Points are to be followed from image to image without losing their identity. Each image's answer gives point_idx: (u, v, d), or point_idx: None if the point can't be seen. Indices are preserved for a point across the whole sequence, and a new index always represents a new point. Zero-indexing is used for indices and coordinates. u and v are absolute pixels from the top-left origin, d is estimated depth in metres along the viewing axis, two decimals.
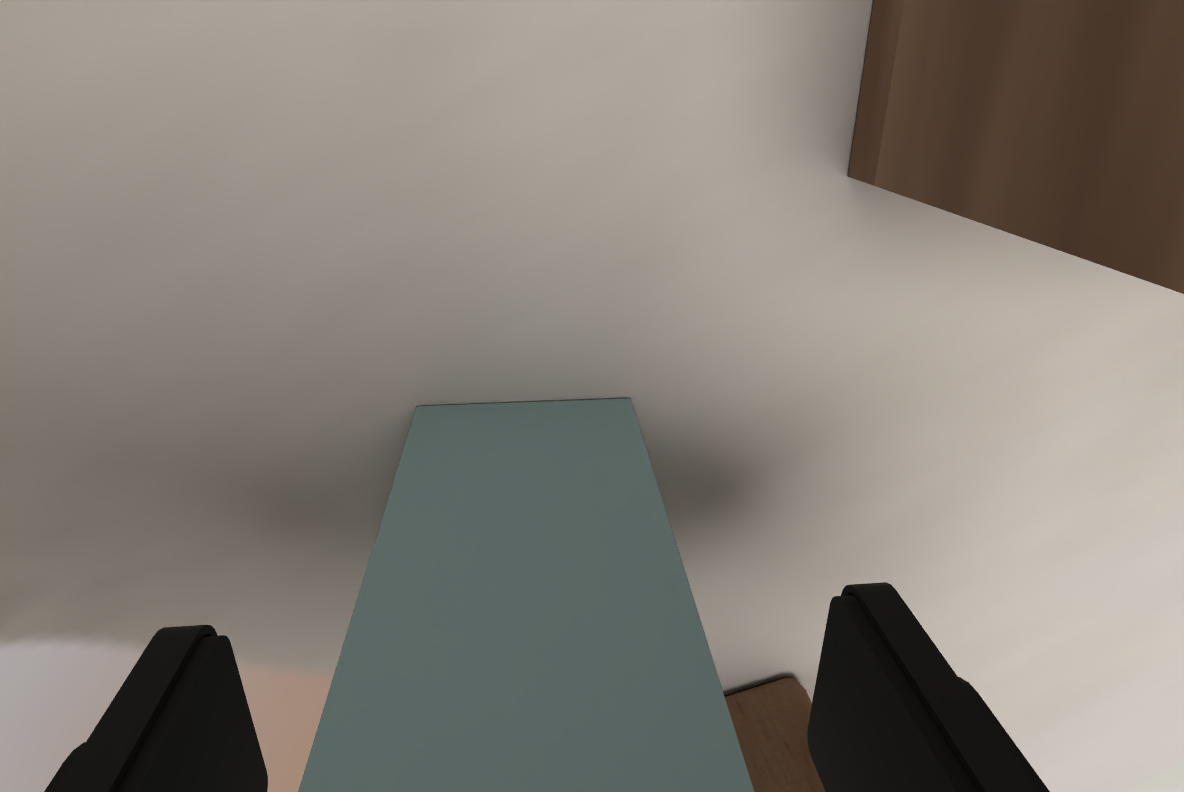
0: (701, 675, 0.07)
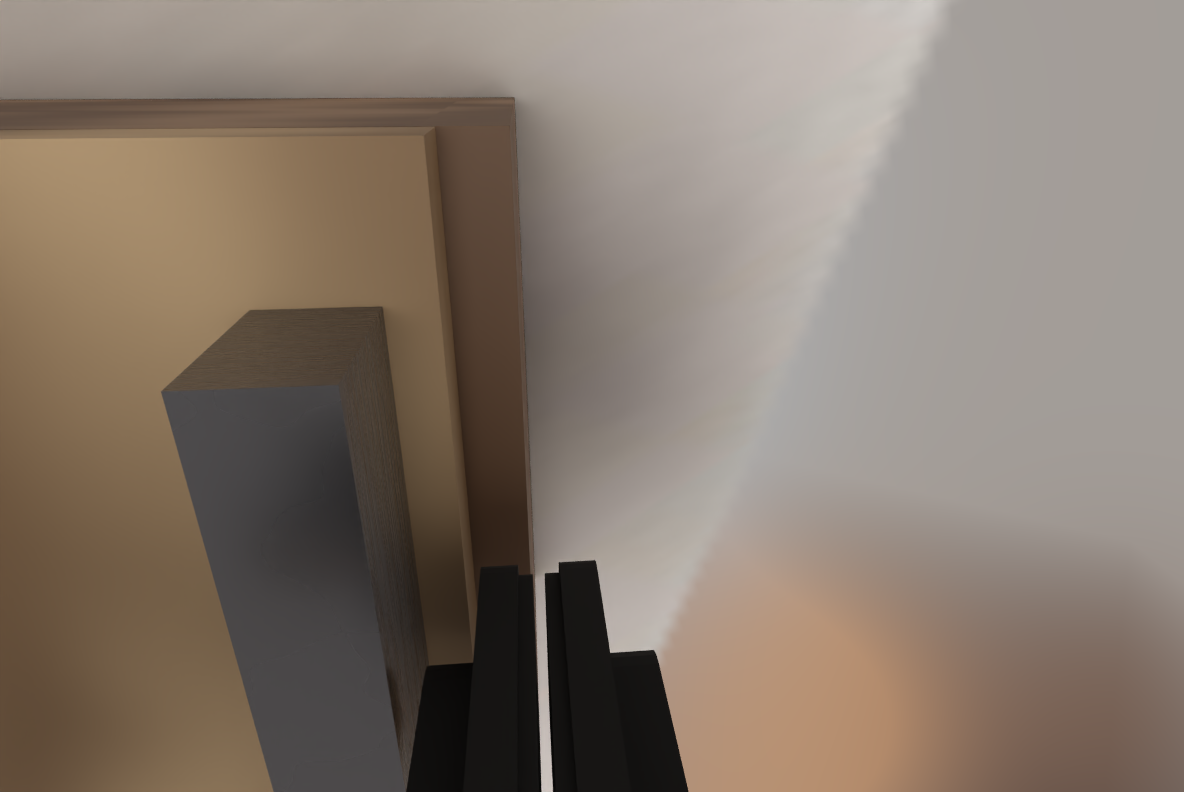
0: None
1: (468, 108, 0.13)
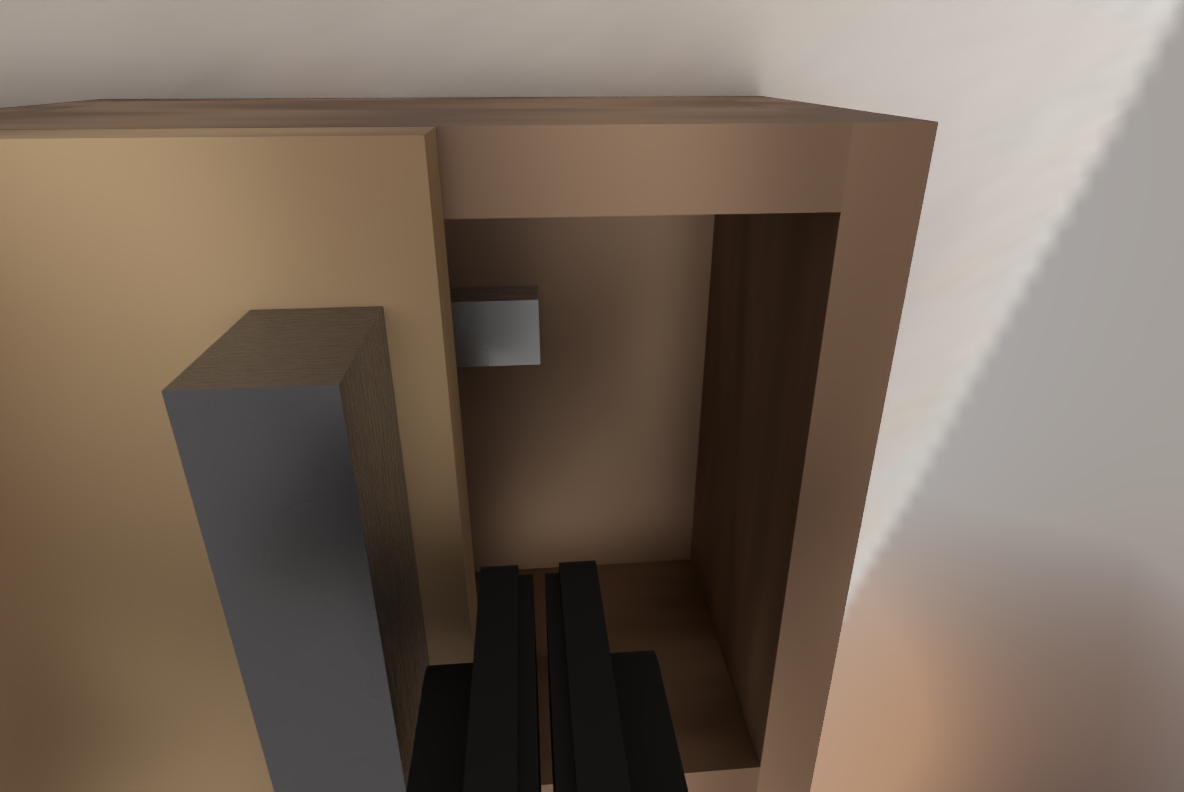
0: None
1: (790, 106, 0.13)
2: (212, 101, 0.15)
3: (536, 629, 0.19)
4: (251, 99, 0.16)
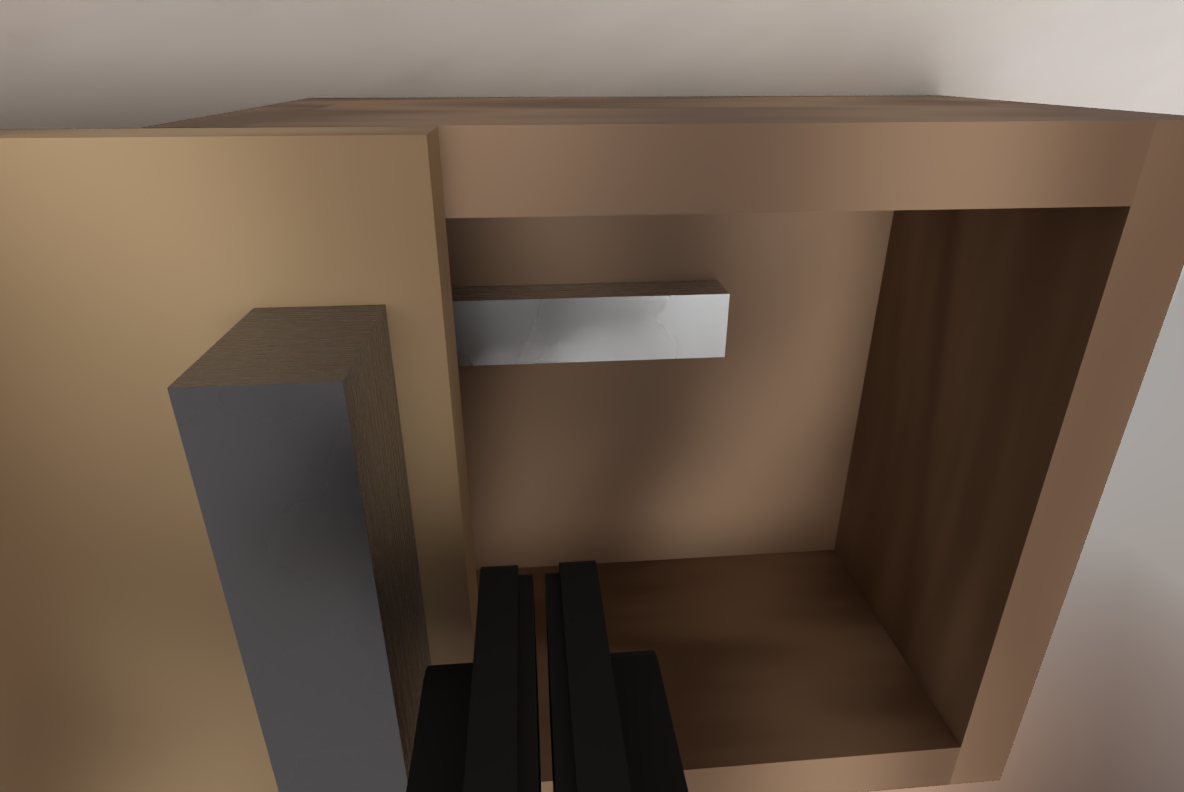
0: None
1: (1019, 105, 0.14)
2: (432, 100, 0.15)
3: (703, 616, 0.19)
4: (459, 98, 0.16)
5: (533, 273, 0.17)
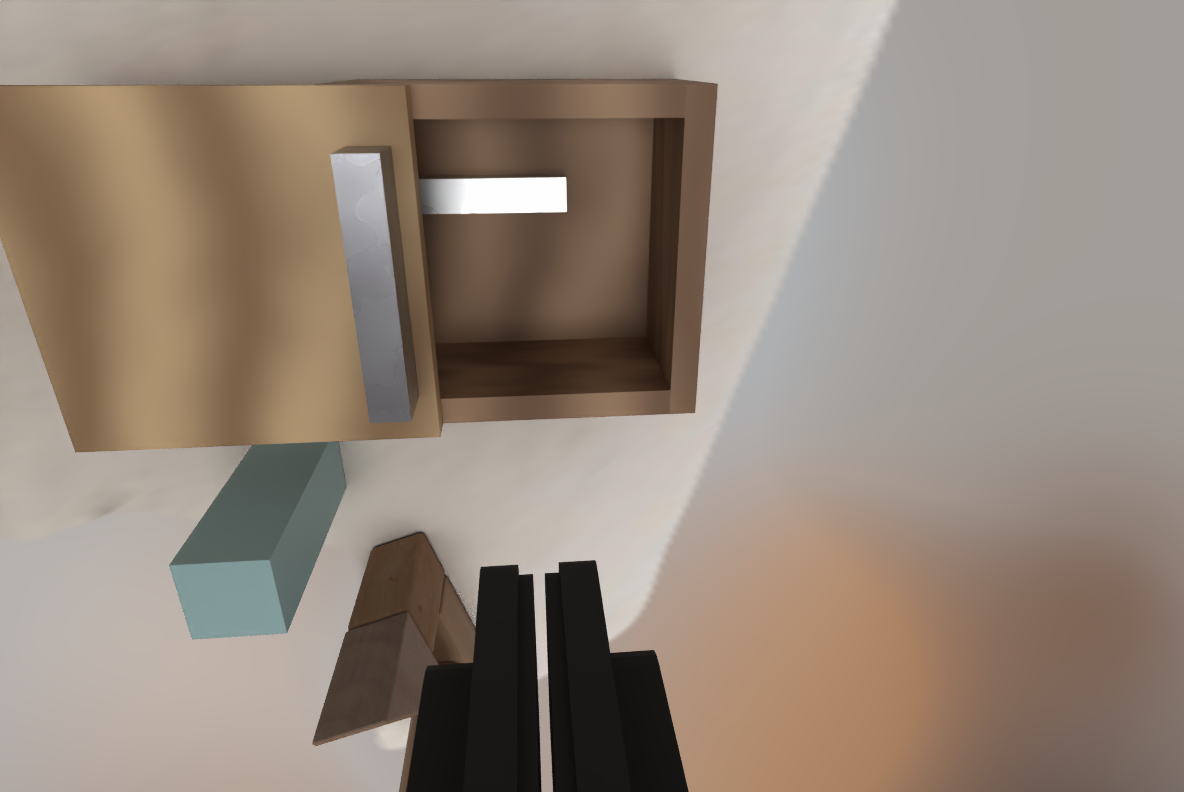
0: (300, 491, 0.34)
1: (677, 81, 0.31)
2: None
3: (563, 356, 0.36)
4: (430, 79, 0.33)
5: (469, 169, 0.34)
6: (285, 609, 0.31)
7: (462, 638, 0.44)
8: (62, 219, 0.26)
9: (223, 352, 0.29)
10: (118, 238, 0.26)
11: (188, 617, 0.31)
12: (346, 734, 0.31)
